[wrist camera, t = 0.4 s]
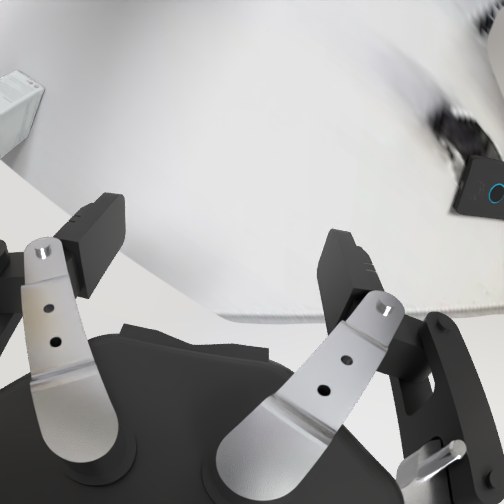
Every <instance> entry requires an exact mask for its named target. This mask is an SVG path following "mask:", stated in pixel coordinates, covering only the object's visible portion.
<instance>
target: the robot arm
mask: <svg viewBox="0 0 504 504" xmlns="http://www.w3.org/2000/svg"><path fill="white" fill-rule="evenodd" d="M125 232H126V228H125V200H124V196H123V195H122V194H114V193H106V192H105V193H103V194H102V195H101V196H100V197H99V198H98V199H97V200H96V201H95V202H94V203H90V204H88V205H86V206H84V207H82V208H81V209H80V210H79V211H78V212H77V213H76V214H75V215H74V216H73V217H72V218H71V219H70V220H69V222H67V223H66V224H65V225H64V226H63V227H62V228H61V229H60V230H59V231H58V232H57V233H56V234H55V235H54V236H53V237H44V238H39V239H37V240H35V241H32V242H31V243H30V244H29V245H27V247H26V248H25V250H24V252H15V253H8V250H7V246H6V243H5V242H4V241H3V240H0V356H1V354H2V352H3V350H4V348H5V346H6V345H7V343H8V341H9V339H10V337H11V335H12V334H13V332H14V330H15V328H16V327H17V325H18V323H19V322H20V320H21V318H22V316H23V322H24V331H25V339H26V346H27V353H28V359H29V365H30V371H31V372H30V373H28V374H26V375H25V376H23V377H21V378H19V379H17V380H16V381H14V382H12V383H10V384H9V385H7V386H5V387H4V388H2V389H0V504H498V503H500V502H501V501H502V500H503V499H504V454H503V450H502V447H501V443H500V440H499V436H498V432H497V429H496V425H495V422H494V419H493V416H492V413H491V410H490V407H489V404H488V401H487V398H486V395H485V392H484V390H483V387H482V384H481V382H480V379H479V377H478V374H477V372H476V369H475V366H474V364H473V361H472V359H471V356H470V354H469V352H468V349H467V347H466V345H465V342H464V340H463V338H462V336H461V334H460V331H459V329H458V327H457V325H456V324H455V323H454V322H453V320H452V319H451V318H449V317H448V316H446V315H445V314H442V313H440V312H430V313H428V315H427V316H426V318H425V319H424V321H421V320H418V319H416V318H413V317H410V316H408V315H405V310H404V307H403V305H402V304H401V302H400V301H399V300H398V299H397V298H396V297H394V296H393V295H391V294H389V293H387V292H385V291H384V289H383V287H382V284H381V282H380V280H379V277H378V275H377V273H376V272H375V271H376V270H375V268H374V266H373V265H372V261H371V259H370V257H369V255H368V254H367V253H366V252H365V251H364V250H363V249H362V248H361V247H359V246H356V244H355V241H354V239H353V237H352V235H351V233H350V232H347V231H342V230H336V229H331V230H330V231H329V233H328V236H327V239H326V242H325V245H324V248H323V251H322V254H321V257H320V260H319V263H318V268H317V280H318V285H319V290H320V295H321V300H322V305H323V310H324V316H325V321H326V327H327V332H328V337H327V338H326V339H325V341H323V343H322V344H321V345H320V346H319V347H318V348H317V349H316V350H315V352H314V353H313V354H312V355H311V356H310V357H309V358H308V359H307V360H306V362H305V363H304V364H303V365H302V366H301V367H300V368H299V369H298V370H297V371H296V372H295V373H294V372H293V371H291V370H290V369H288V368H286V367H285V366H283V365H281V364H279V363H277V362H274V361H272V360H269V349H268V348H261V347H253V346H246V345H239V344H213V345H192V344H189V343H186V342H184V341H181V340H179V339H176V338H174V337H172V336H169V335H167V334H164V333H162V332H159V331H157V330H152V329H147V328H143V327H138V326H133V325H129V324H123V327H122V329H121V331H120V334H107V335H102V336H98V337H94V338H91V339H89V340H87V338H86V335H85V331H84V328H83V325H82V322H81V318H80V315H79V312H78V308H77V304H76V301H75V299H76V297H77V296H78V297H83V298H86V299H89V298H90V296H91V294H92V293H93V291H94V289H95V288H96V286H97V284H98V283H99V281H100V279H101V277H102V276H103V274H104V273H105V271H106V270H107V268H108V266H109V265H110V263H111V262H112V260H113V259H114V257H115V256H116V254H117V252H118V251H119V249H120V248H121V246H122V245H123V242H124V239H125ZM375 371H378V372H381V373H384V374H387V375H389V377H390V382H391V386H392V391H393V396H394V402H395V406H396V412H397V418H398V423H399V430H400V436H401V442H402V449H403V455H404V460H403V461H402V462H401V464H400V465H399V467H398V470H397V478H396V480H395V479H394V478H393V477H392V476H391V474H390V473H389V472H387V470H386V469H385V468H384V467H383V466H381V464H380V463H379V462H378V461H377V460H376V459H375V458H374V457H373V456H372V455H371V454H370V453H369V452H368V451H367V450H366V449H365V448H364V447H363V445H362V444H361V443H360V442H359V441H358V440H357V439H356V438H355V437H354V436H353V435H352V434H351V433H350V432H349V430H348V429H347V428H346V427H345V426H344V425H343V422H344V421H345V419H346V418H347V416H348V415H349V413H350V412H351V410H352V409H353V407H354V406H355V404H356V403H357V401H358V399H359V398H360V396H361V395H362V393H363V391H364V390H365V388H366V387H367V385H368V383H369V382H370V380H371V378H372V377H373V375H374V373H375ZM431 372H432V375H433V378H434V382H435V389H434V392H432V389H431V385H430V382H429V379H428V376H429V374H430V373H431Z"/></svg>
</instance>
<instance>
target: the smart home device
mask: <svg viewBox="0 0 504 504" xmlns="http://www.w3.org/2000/svg"><path fill="white" fill-rule="evenodd" d="M453 207H454V209H455V210H456V211H457V213H459V214H462V215H471V216H479V217H488V218H496V219H503V220H504V162H502V161H499V160H495V159H491V158H486V157H482V156H478V155H471V156H469V158H468V161H467V165H466V168H465V171H464V175H463V178H462V181H461V184H460V187H459V190H458V193H457V196H456V199H455V202H454V205H453Z"/></svg>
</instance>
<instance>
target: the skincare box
mask: <svg viewBox="0 0 504 504" xmlns="http://www.w3.org/2000/svg"><path fill="white" fill-rule="evenodd" d="M44 90H45V88H44V87H42V86H41V85H39V84H38V83H36V82H35V81H33V80H32V79H30V78H29V77H28V76H26V75H25V74H23V73H22V72H20V71H19V70H18V71H17V70H16V71H14V72H11V73H9V74H7V75H5V76H3V77H1V78H0V159H1V158H3V157H4V156H5V155H6V154H7V153H8V152H10V151H11V150H12V149H13V148H14V147H16V146H17V145H18V144H19V143H21V142H22V141H23V140H24V139H26V138H27V137H28V135H29V132H30V129H31V126H32V123H33V120H34V117H35V114H36V111H37V108H38V105H39V102H40V100H41V97H42V94H43V92H44Z"/></svg>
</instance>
